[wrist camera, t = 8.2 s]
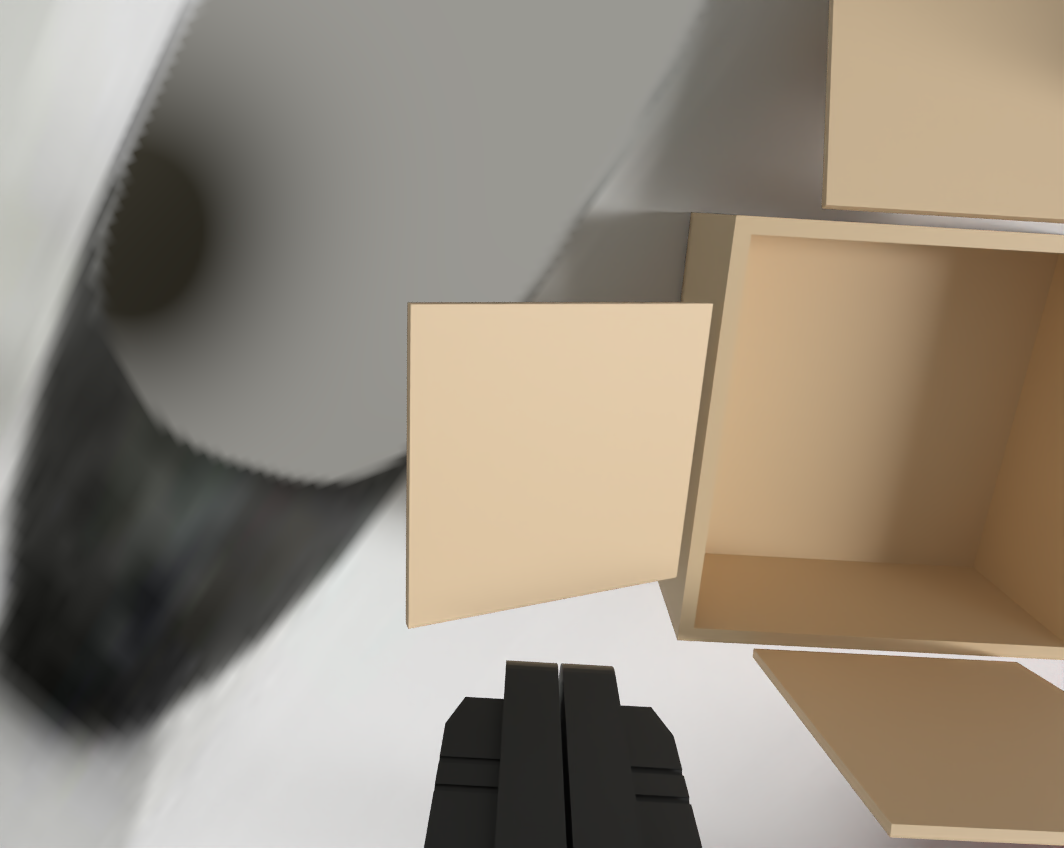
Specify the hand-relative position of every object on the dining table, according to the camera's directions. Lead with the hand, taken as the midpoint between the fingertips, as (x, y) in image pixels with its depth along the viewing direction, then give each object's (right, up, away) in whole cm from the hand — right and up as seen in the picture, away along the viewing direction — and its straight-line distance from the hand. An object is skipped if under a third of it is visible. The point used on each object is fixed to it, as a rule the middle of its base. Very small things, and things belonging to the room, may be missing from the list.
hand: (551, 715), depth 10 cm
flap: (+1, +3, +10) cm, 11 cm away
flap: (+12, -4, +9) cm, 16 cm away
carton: (+17, +9, +17) cm, 25 cm away
